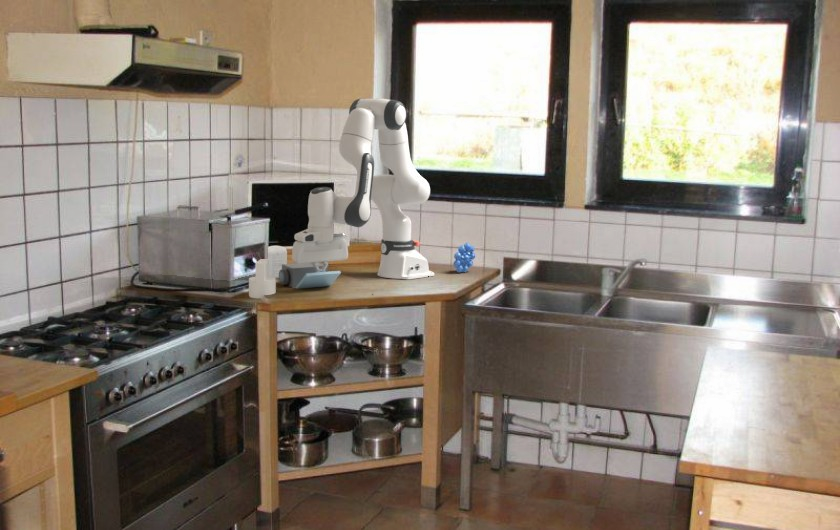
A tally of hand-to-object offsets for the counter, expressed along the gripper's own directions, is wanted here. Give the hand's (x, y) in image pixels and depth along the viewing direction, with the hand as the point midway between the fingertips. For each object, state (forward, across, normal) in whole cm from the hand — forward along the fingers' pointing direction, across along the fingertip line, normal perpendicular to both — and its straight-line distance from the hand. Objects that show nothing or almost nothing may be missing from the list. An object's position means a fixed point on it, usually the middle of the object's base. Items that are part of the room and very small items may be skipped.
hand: (320, 274), depth 321 cm
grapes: (+7, -71, -14) cm, 73 cm away
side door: (+5, 0, -6) cm, 8 cm away
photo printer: (+7, +3, -32) cm, 33 cm away
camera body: (+7, +1, -12) cm, 13 cm away
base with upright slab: (+7, +20, -4) cm, 21 cm away
